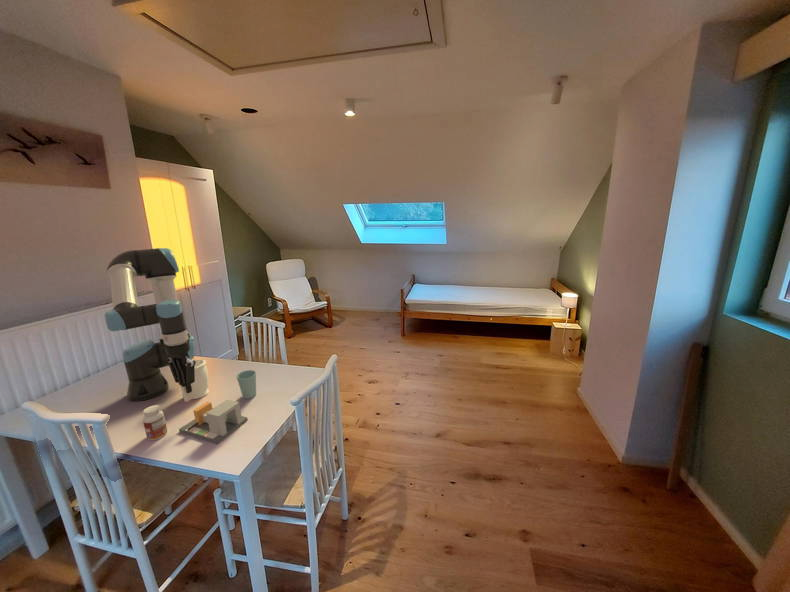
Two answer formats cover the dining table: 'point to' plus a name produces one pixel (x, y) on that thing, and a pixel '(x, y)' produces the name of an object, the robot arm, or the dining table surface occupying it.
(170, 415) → the dining table surface
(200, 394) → the jar
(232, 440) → the dining table surface
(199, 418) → the plunger
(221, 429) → the board
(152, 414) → the pill bottle
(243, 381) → the cup
